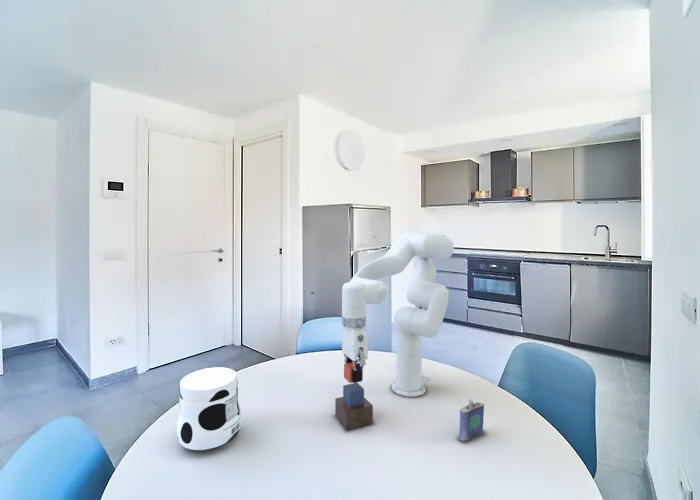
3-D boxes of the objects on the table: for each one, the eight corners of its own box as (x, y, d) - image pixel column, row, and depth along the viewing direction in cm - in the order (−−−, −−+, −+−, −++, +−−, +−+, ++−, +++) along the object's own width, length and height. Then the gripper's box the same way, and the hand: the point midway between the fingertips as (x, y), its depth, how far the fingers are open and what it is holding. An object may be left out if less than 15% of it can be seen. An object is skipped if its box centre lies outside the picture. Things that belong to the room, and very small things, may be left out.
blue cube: (357, 397, 111) (357, 382, 111) (364, 404, 106) (364, 389, 106) (343, 400, 109) (343, 385, 109) (349, 408, 104) (349, 392, 104)
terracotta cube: (356, 375, 110) (356, 361, 110) (362, 380, 106) (362, 366, 106) (343, 377, 108) (343, 363, 108) (349, 383, 104) (349, 369, 104)
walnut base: (359, 410, 114) (359, 392, 114) (372, 424, 106) (372, 405, 106) (335, 416, 111) (335, 398, 110) (346, 431, 102) (346, 412, 102)
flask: (464, 443, 97) (464, 406, 96) (456, 438, 99) (456, 402, 99) (485, 433, 101) (486, 398, 101) (477, 428, 104) (478, 394, 103)
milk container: (179, 428, 103) (177, 371, 102) (238, 416, 110) (237, 362, 109) (174, 464, 88) (172, 397, 86) (244, 448, 94) (243, 385, 93)
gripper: (377, 327, 100) (376, 387, 101) (353, 314, 116) (352, 366, 117) (354, 330, 97) (354, 392, 98) (332, 316, 112) (332, 370, 113)
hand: (353, 377), depth 107 cm, fingers closed on terracotta cube, 4 cm apart
